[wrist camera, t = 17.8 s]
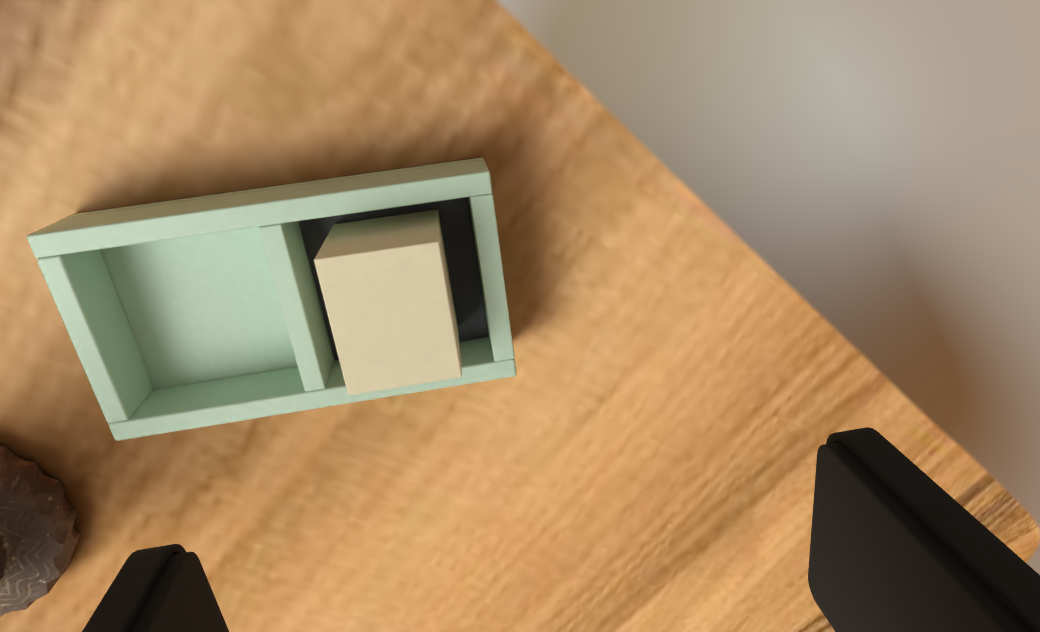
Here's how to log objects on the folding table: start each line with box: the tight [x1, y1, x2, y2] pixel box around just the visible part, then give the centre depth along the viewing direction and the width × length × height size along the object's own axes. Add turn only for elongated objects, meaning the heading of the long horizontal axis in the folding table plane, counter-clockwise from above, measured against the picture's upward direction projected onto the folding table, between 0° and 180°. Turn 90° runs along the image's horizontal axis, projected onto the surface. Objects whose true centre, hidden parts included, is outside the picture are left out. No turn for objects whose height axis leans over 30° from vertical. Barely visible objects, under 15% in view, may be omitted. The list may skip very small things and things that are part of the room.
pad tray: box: [27, 157, 517, 441], centre depth 25 cm, size 8×15×3 cm, turn 97°
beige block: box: [314, 210, 462, 395], centre depth 24 cm, size 4×5×4 cm
